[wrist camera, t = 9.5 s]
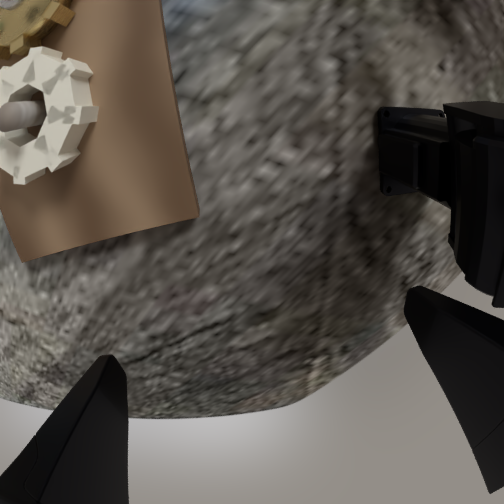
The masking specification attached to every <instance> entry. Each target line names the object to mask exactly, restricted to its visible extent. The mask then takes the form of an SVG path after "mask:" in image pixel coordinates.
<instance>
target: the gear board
mask: <svg viewBox="0 0 504 504" xmlns="http://www.w3.org/2000/svg"><path fill="white" fill-rule="evenodd" d="M69 9H70V10H72V11H73V12H75V13H76V14H75V15H74V16H73V18H72V19H71V21H70V22H69V23H68V25H67V26H66V27H65V26H62V25H60V24H58V25H57V26H56V27H55V28H54V29H53V30H52V31H51V32H50V33H49V34H48V35H47V36H46V37H45V38H43V39H42V40H41V45H42V46H43V47H47V48H50V49H53V50H56V51H59V52H63V53H62V57H61V59H62V60H64V61H65V60H66V59H67V58H71V59H74V60H77V61H80V62H83V63H86V64H87V65H88V66H89V68H90V69H91V71H92V72H93V75H92V76H91V77H89V78H88V81H89V87H90V93H91V99H92V104H93V106H99V110H98V116H97V122H91V123H89V125H88V127H87V129H86V131H85V133H84V135H83V137H82V139H81V141H80V143H79V145H78V147H77V149H78V150H79V152H80V153H81V154H79V155H78V156H77V157H76V158H75V159H74V160H73V161H72V162H71V163H70V164H68V165H66V166H64V167H62V168H60V169H58V170H56V171H54V172H51V171H50V169H49V168H48V167H46V168H45V174H44V175H42V176H40V177H38V178H36V179H34V180H32V181H31V182H29V183H27V184H25V185H23V184H14V181H13V176H12V175H10V174H9V173H7V172H6V171H5V170H3V169H2V168H0V209H1V212H2V215H3V218H4V220H5V223H6V226H7V228H8V231H9V233H10V236H11V238H12V241H13V243H14V246H15V248H16V250H17V253H18V255H19V257H20V259H21V261H22V263H23V262H26V261H29V260H33V259H36V258H39V257H43V256H46V255H50V254H53V253H57V252H60V251H64V250H67V249H71V248H74V247H78V246H82V245H86V244H89V243H93V242H97V241H101V240H104V239H108V238H112V237H116V236H120V235H124V234H128V233H132V232H136V231H141V230H145V229H149V228H153V227H157V226H162V225H166V224H170V223H175V222H179V221H184V220H188V219H193V218H197V217H199V211H200V209H199V204H198V200H197V195H196V191H195V186H194V182H193V177H192V173H191V168H190V163H189V159H188V154H187V149H186V144H185V139H184V134H183V129H182V124H181V119H180V114H179V108H178V103H177V98H176V92H175V86H174V81H173V75H172V69H171V63H170V57H169V51H168V45H167V38H166V31H165V25H164V18H163V10H162V3H161V0H73V1H72V3H71V6H70V8H69ZM25 57H27V56H21V55H16V54H11V56H10V58H9V60H0V69H1V68H2V67H3V66H8V67H11V66H13V65H14V64H16V63H17V62H19V61H20V60H22V59H23V58H25ZM46 116H47V111H46V106H45V100H44V93H43V92H42V91H41V90H40V91H38V92H36V93H34V94H33V95H32V97H31V100H30V101H20V102H7V103H5V104H3V105H2V106H1V108H0V131H2V132H9V131H13V130H18V129H22V128H27V130H28V133H30V134H31V135H33V136H35V137H36V138H37V137H38V135H39V132H40V130H41V128H42V125H43V123H44V121H45V118H46Z"/></svg>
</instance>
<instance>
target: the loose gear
mask: <svg viewBox="0 0 504 504" xmlns="http://www.w3.org/2000/svg"><path fill="white" fill-rule="evenodd" d="M62 53H63V52H59V51H56V50H53V49H50V48H47V47H43V46H42V47H35V48H30V51H29V55H28V56H27V57H25V58H23V59H22V60H20V61H19V62H17V63H16V64H14V65H13V66H11V67H8V66H3V67H2V68H1V69H0V108H1V106H2V105H3V104H5V103H7V102H20V101H30V100H31V97H32V95H33V94H34V93H36V92H38V91H40V90H41V91H42V92H43V93H44V100H45V106H46V111H47V116H46V118H45V121H44V123H43V125H42V128H41V130H40V132H39V135H38V137H37V138H36V137H35V136H33V135H31V134H30V133H28V130H27V128H22V129H18V130H13V131H9V132H2V131H0V168H2V169H3V170H5V171H6V172H7V173H9V174H10V175H12V176H13V181H14V184H23V185H25V184H27V183H29V182H31V181H32V180H34V179H36V178H38V177H40V176H42V175H44V174H45V168H46V167H48V168H49V169H50V171H51V172H54V171H56V170H58V169H60V168H62V167H64V166H66V165H68V164H70V163H71V162H72V161H73V160H74V159H75V158H76V157H77V156H78V155H79V154H81V153H80V152H79V150H78V149H77V147H78V145H79V143H80V141H81V139H82V137H83V135H84V133H85V131H86V129H87V127H88V125H89V123H91V122H97V116H98V110H99V106H93V104H92V99H91V93H90V87H89V81H88V78H89V77H91V76H92V75H93V72H92V71H91V69H90V68H89V66H88V65H87V64H86V63H83V62H80V61H77V60H74V59H71V58H67V59H66V60H65V61H64V60H62V59H61V57H62Z"/></svg>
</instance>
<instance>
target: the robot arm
mask: <svg viewBox="0 0 504 504" xmlns="http://www.w3.org/2000/svg"><path fill="white" fill-rule="evenodd" d="M443 109H444V112H443V111H442V110H436V109H424V108H407V107H380V108H379V110H378V125H379V137H378V143H379V170H380V189H381V192H382V193H383V194H384V195H386V196H392V195H399V194H406V193H412V192H420V193H422V194H424V195H425V196H427V197H429V198H431V199H433V200H435V201H437V202H439V203H440V204H442V205H444V206H446V207H448V208H449V209H451V224H450V233H449V234H448V243H449V244H450V246H451V247H452V249H453V250H454V255H455V259H456V263H457V264H458V265H459V267H460V268H461V270H462V271H463V273H464V274H465V280H466V282H468V283H469V284H470V285H471V286H473V287H474V288H475V289H477V290H479V291H481V292H482V293H485V294H486V295H489V296H493V300H492V306H493V307H496V308H504V103H497V102H490V101H475V102H459V103H446V104H443ZM384 111H386V116H384ZM444 113H445V114H446V118H445V115H444ZM387 187H389V188H388V190H387V191H386V188H387ZM404 315H405V317H406V320H407V322H408V324H409V326H410V328H411V330H412V332H413V334H414V336H415V338H416V341H417V343H418V345H419V347H420V349H421V351H422V353H423V355H424V357H425V359H426V360H427V362H428V364H429V365H430V367H431V369H432V371H433V373H434V375H435V376H436V378H437V380H438V382H439V384H440V386H441V387H442V389H443V391H444V393H445V395H446V397H447V399H448V401H449V403H450V405H451V407H452V408H453V411H454V412H455V414H456V416H457V419H458V421H459V423H460V425H461V427H462V429H463V431H464V433H465V436H466V438H467V440H468V442H469V444H470V447H471V449H472V451H473V454H474V456H475V459H476V461H477V463H478V466H479V468H480V471H481V473H482V476H483V478H484V481H485V484H486V486H487V489H488V492H489V493H490V494H491V493H493V492H495V491H497V490H499V489H500V488H502V487H504V320H502V319H500V318H497V317H495V316H493V315H490V314H488V313H485V312H483V311H481V310H479V309H476V308H474V307H471V306H469V305H467V304H464V303H462V302H460V301H457V300H454V299H452V298H450V297H447V296H445V295H443V294H440V293H438V292H435V291H433V290H430V289H428V288H425V287H423V286H415V287H413V288H410V289H409V290H408V291H407V296H406V300H405V305H404ZM0 504H129V496H128V402H127V378H126V374H125V371H124V370H123V368H122V367H121V365H120V364H119V362H118V361H117V359H116V358H115V357H114V356H113V355H111V354H109V355H101V356H99V357H98V359H97V360H96V361H95V362H94V363H93V364H92V366H91V367H90V368H89V369H88V370H87V371H86V373H85V374H84V375H83V376H82V377H81V378H80V380H79V381H78V382H77V383H76V384H75V386H74V387H73V388H72V389H71V390H70V392H69V393H68V394H67V395H66V396H65V398H64V399H63V400H62V401H61V403H60V404H59V405H58V406H57V408H56V409H55V410H54V411H53V413H52V414H51V415H50V416H49V417H48V419H47V420H46V421H45V423H44V424H43V425H42V426H41V428H40V429H39V430H38V431H37V433H36V435H34V436H33V438H32V439H31V440H30V442H29V443H28V444H27V446H26V447H25V448H24V449H23V451H22V452H21V453H20V455H19V456H18V457H17V458H16V459H15V460H14V461H13V462H12V464H11V465H10V466H9V467H8V468H7V469H6V470H5V471H4V472H3V474H2V475H1V476H0Z"/></svg>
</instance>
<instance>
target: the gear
mask: <svg viewBox="0 0 504 504" xmlns="http://www.w3.org/2000/svg"><path fill="white" fill-rule="evenodd" d="M72 1H73V0H0V60H9V58H10V56H11V54H16V55H21V56H28V55H29V51H30V48H35V47H42V45H41V40H42V39H43V38H45V37H46V36H47V35H48V34H49V33H50V32H51V31H52V30H53V29H54V28H55V27H56V26H57V25H58V24H60V25H62V26H65V27H66V26H67V25H68V23H69V22H70V21H71V19H72V18H73V16H74V15H75V14H76V13H75V12H73V11H72V10H70V9H69V8H70V6H71V3H72Z"/></svg>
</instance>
